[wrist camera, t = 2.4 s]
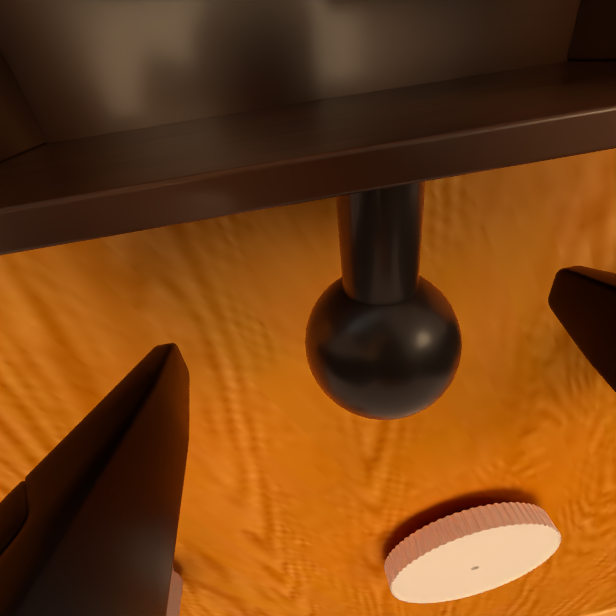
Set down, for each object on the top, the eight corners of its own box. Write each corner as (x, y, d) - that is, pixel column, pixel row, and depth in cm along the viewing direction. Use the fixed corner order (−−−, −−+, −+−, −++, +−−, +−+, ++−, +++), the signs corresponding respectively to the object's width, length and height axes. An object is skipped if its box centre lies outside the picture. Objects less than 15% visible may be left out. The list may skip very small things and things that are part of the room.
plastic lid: (352, 571, 32) (360, 606, 30) (439, 482, 25) (457, 519, 23) (472, 569, 36) (486, 600, 34) (573, 494, 30) (598, 526, 28)
